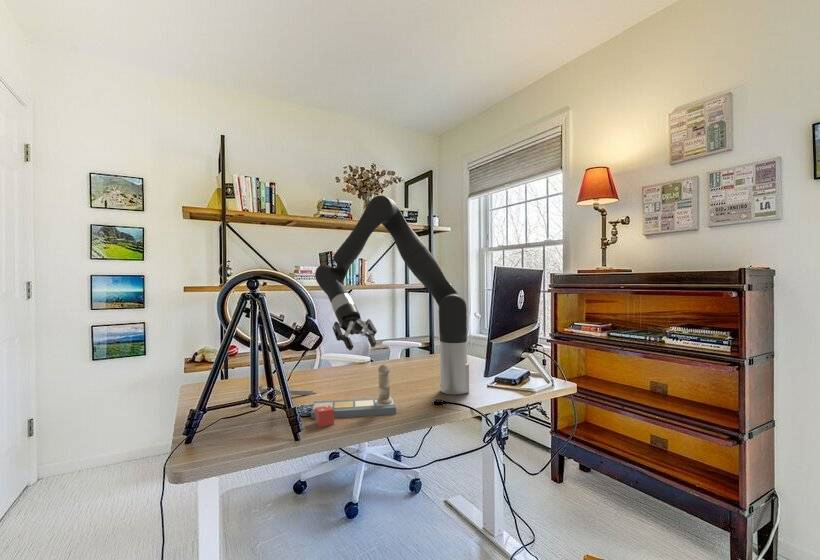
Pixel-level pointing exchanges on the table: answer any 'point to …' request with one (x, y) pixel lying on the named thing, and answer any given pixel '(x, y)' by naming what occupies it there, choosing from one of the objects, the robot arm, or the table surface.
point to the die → (324, 415)
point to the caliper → (293, 392)
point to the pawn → (384, 385)
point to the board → (356, 407)
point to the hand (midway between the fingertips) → (363, 347)
